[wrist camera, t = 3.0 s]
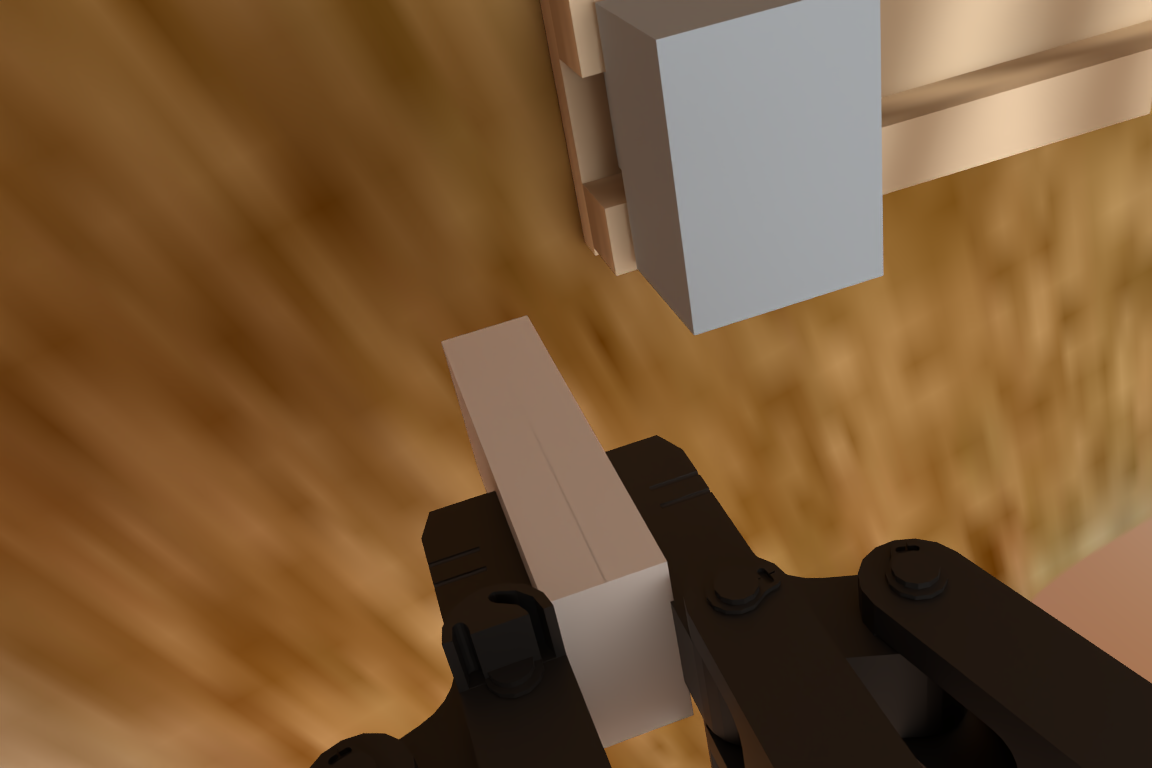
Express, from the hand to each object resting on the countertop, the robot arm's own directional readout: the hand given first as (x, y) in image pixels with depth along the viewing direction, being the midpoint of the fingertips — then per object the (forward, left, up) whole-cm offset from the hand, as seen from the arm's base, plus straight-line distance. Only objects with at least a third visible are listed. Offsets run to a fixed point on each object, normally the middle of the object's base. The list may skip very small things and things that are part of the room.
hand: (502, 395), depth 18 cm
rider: (+8, 0, -11) cm, 14 cm away
